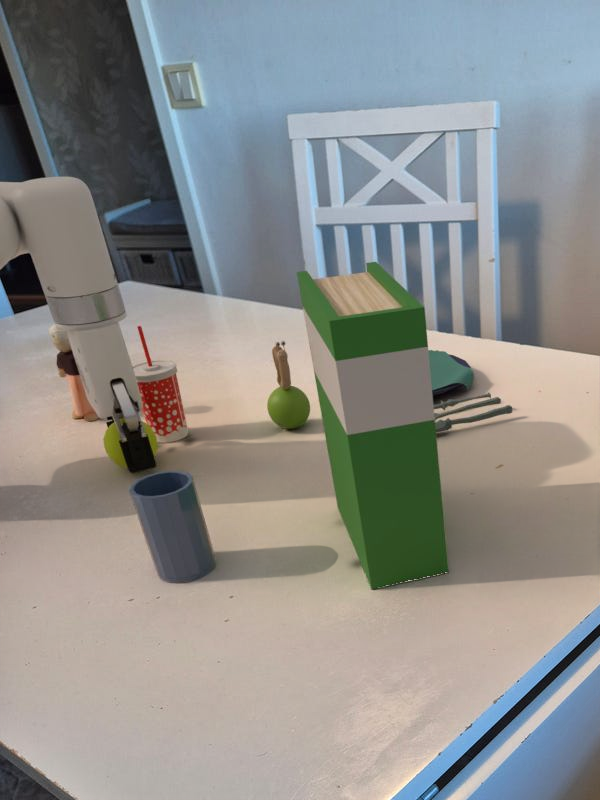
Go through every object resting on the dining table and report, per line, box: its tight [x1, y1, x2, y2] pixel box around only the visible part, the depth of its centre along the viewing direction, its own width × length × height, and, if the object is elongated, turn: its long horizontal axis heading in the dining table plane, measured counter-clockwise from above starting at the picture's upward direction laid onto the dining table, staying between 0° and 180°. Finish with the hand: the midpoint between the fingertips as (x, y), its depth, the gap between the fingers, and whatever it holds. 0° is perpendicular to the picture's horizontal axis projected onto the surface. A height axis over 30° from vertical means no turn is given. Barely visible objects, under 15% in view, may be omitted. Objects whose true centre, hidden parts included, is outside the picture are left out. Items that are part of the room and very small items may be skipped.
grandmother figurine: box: [48, 324, 101, 422], centre depth 114 cm, size 8×4×13 cm, turn 72°
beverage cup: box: [132, 325, 189, 444], centre depth 106 cm, size 6×6×14 cm
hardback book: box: [296, 261, 450, 590], centre depth 78 cm, size 18×7×24 cm, turn 18°
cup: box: [128, 470, 217, 584], centre depth 79 cm, size 6×6×9 cm
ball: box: [103, 419, 159, 469], centre depth 101 cm, size 6×6×6 cm
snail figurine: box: [266, 340, 311, 430], centre depth 106 cm, size 5×6×12 cm
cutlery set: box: [428, 349, 513, 434], centre depth 116 cm, size 20×30×2 cm, turn 25°
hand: (135, 458), depth 102 cm, fingers open, 6 cm apart
